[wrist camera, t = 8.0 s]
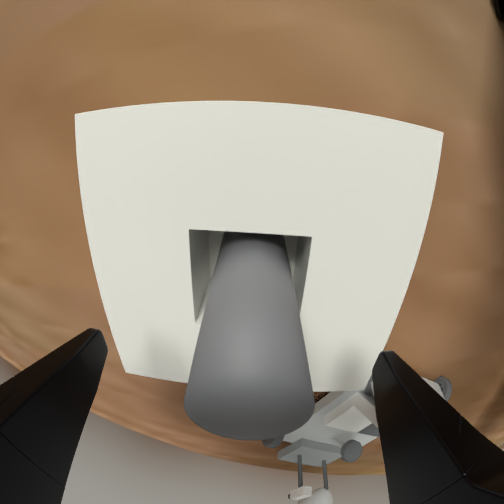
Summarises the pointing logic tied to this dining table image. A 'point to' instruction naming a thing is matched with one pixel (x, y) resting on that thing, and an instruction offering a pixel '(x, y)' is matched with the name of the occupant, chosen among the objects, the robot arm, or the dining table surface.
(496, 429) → the dining table surface
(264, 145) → the socket block
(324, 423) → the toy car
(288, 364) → the peg
